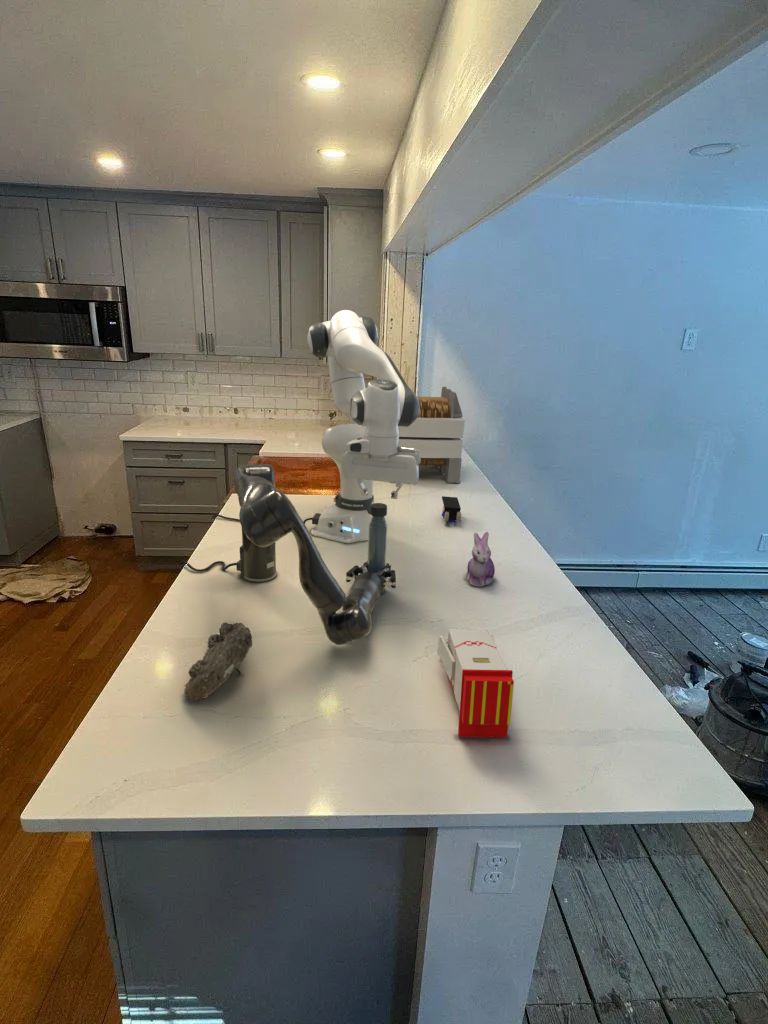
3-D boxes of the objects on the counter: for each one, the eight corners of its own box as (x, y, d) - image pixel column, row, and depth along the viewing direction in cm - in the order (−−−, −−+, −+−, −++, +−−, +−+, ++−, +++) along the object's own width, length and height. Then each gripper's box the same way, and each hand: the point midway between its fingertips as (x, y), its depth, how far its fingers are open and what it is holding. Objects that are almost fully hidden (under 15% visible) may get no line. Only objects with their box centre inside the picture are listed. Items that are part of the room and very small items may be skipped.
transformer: (382, 463, 289) (386, 382, 275) (445, 464, 293) (451, 384, 279) (390, 482, 257) (394, 392, 243) (460, 483, 261) (468, 394, 247)
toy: (488, 613, 130) (523, 677, 101) (484, 667, 133) (517, 744, 104) (435, 612, 130) (455, 676, 101) (432, 666, 133) (451, 743, 103)
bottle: (373, 584, 162) (377, 502, 154) (387, 590, 160) (391, 506, 151) (362, 590, 159) (365, 507, 150) (376, 596, 156) (380, 511, 147)
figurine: (477, 590, 161) (482, 542, 156) (457, 575, 170) (461, 529, 165) (503, 584, 166) (509, 537, 161) (482, 570, 174) (487, 525, 169)
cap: (377, 510, 154) (377, 501, 153) (390, 514, 152) (390, 505, 151) (367, 514, 151) (367, 505, 150) (380, 518, 149) (380, 509, 148)
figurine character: (461, 530, 209) (456, 512, 222) (463, 512, 205) (458, 495, 219) (443, 530, 208) (439, 512, 222) (445, 511, 205) (440, 494, 218)
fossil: (205, 625, 130) (252, 594, 125) (233, 653, 133) (280, 624, 128) (163, 694, 111) (216, 661, 106) (197, 725, 114) (251, 694, 109)
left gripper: (393, 582, 141) (403, 555, 157) (337, 575, 144) (353, 549, 159) (391, 609, 144) (402, 580, 159) (337, 602, 146) (353, 573, 162)
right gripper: (423, 446, 146) (420, 497, 150) (347, 439, 150) (346, 489, 155) (419, 451, 140) (416, 504, 145) (340, 444, 144) (339, 496, 149)
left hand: (378, 565), depth 159 cm, fingers closed on bottle, 5 cm apart
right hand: (379, 496), depth 150 cm, fingers open, 7 cm apart
